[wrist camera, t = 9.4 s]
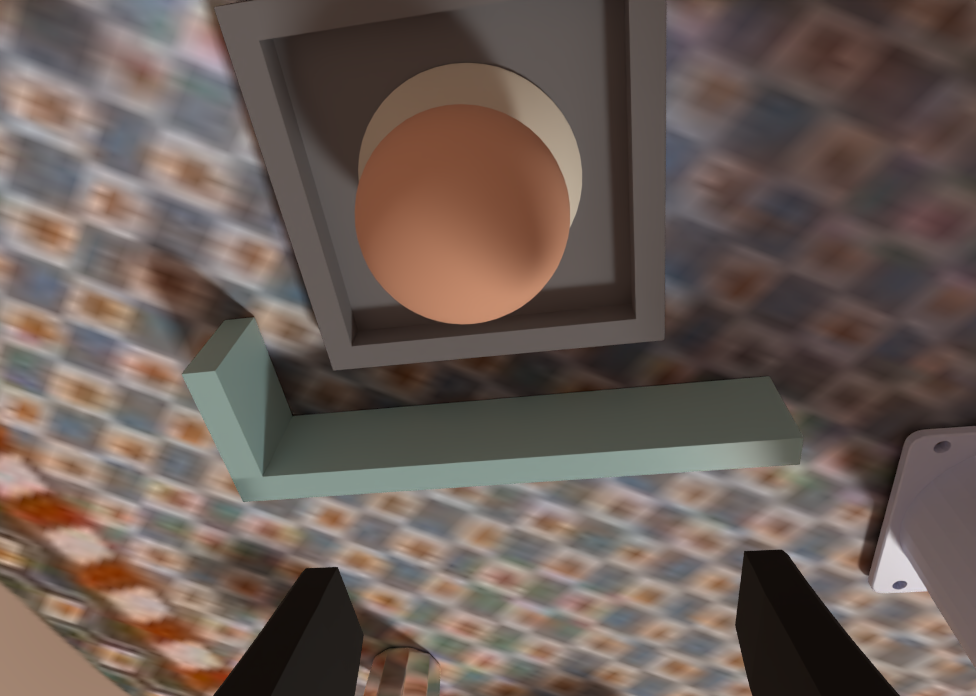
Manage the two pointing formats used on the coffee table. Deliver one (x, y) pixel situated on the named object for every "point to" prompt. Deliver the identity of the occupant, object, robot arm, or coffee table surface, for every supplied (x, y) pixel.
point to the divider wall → (474, 432)
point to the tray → (473, 81)
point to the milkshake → (403, 674)
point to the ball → (462, 214)
